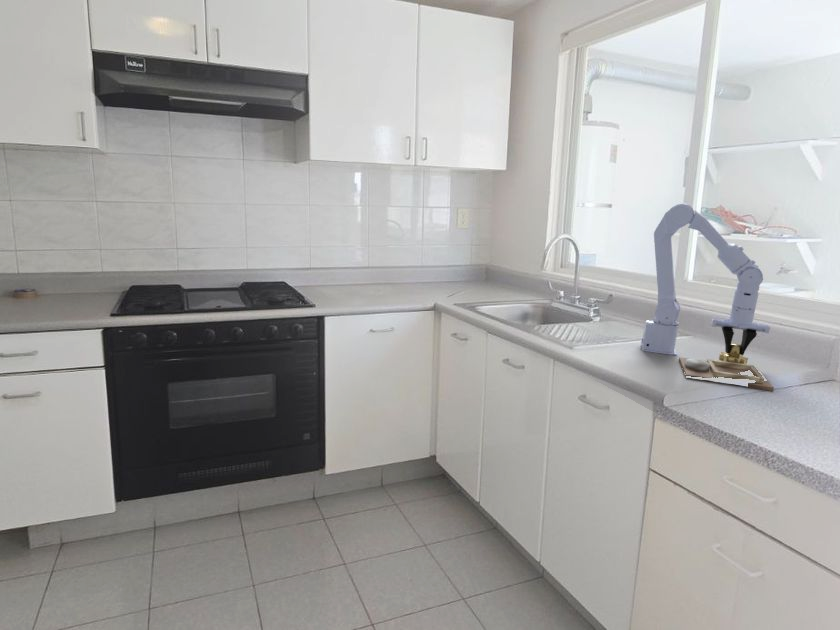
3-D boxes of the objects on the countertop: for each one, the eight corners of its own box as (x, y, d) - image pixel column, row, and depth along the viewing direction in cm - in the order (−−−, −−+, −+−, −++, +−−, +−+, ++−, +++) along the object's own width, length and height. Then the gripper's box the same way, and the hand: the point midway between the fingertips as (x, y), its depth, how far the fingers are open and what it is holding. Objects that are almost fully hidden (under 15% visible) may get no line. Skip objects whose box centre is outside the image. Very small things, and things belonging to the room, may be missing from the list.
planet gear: (721, 362, 157) (724, 346, 156) (716, 355, 164) (719, 339, 162) (749, 366, 155) (753, 349, 154) (743, 359, 162) (747, 343, 160)
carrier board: (685, 378, 144) (687, 369, 143) (678, 360, 158) (680, 352, 158) (772, 391, 138) (774, 381, 137) (757, 371, 152) (758, 362, 152)
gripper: (717, 307, 154) (708, 353, 157) (776, 313, 150) (766, 361, 153) (713, 302, 160) (704, 346, 164) (769, 308, 156) (759, 353, 159)
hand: (734, 353), depth 159 cm, fingers closed on planet gear, 3 cm apart
